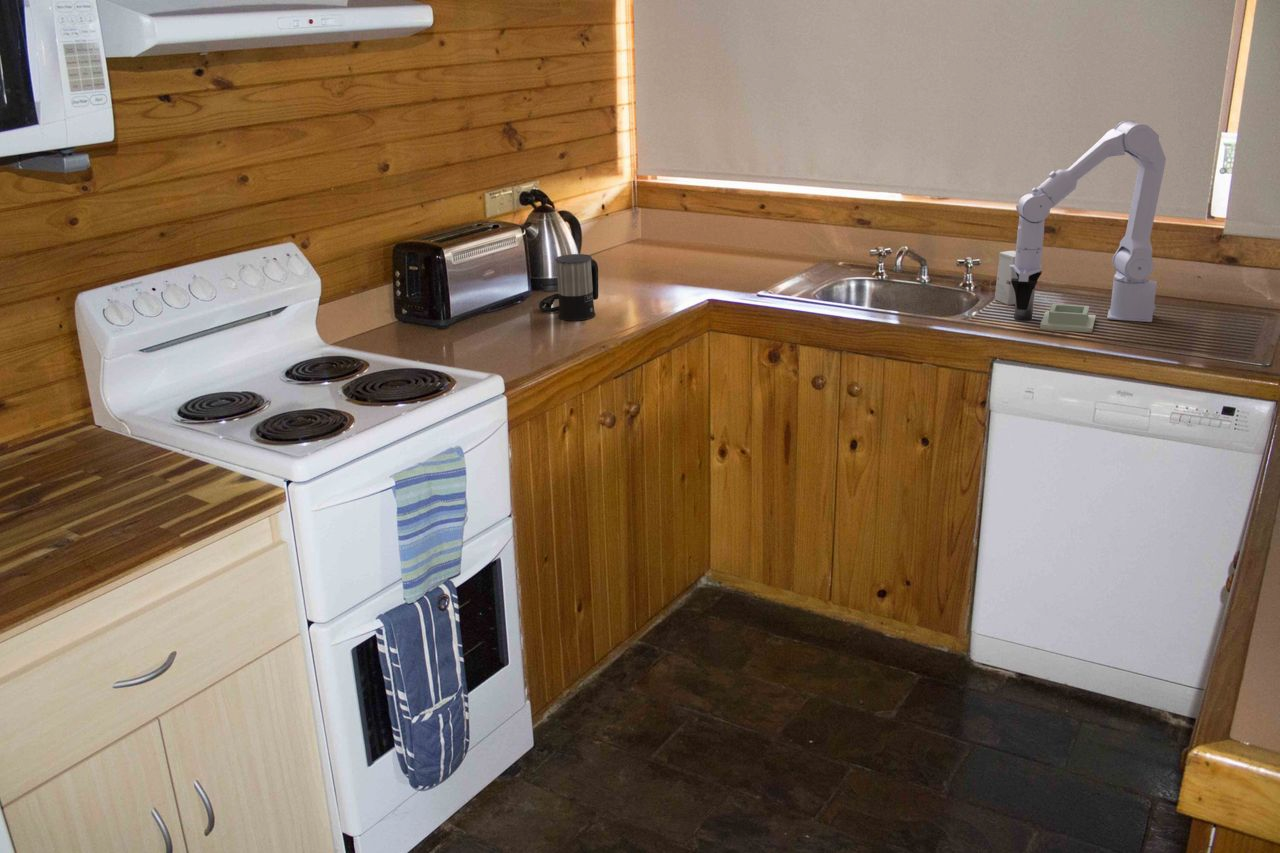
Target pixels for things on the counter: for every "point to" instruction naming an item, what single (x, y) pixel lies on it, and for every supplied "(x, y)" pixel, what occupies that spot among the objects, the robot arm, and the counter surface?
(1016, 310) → the peg
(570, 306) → the milk frother
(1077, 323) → the socket stand
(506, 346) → the counter surface
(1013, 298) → the skincare box
